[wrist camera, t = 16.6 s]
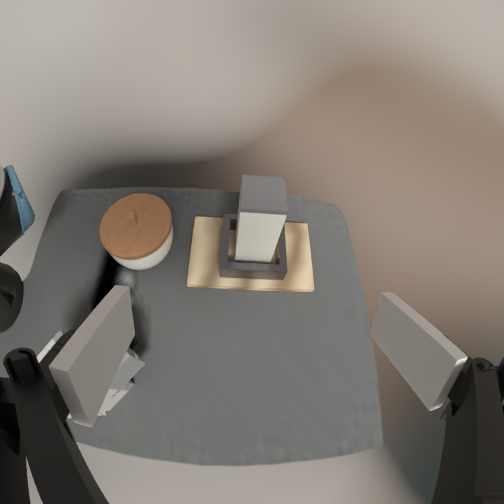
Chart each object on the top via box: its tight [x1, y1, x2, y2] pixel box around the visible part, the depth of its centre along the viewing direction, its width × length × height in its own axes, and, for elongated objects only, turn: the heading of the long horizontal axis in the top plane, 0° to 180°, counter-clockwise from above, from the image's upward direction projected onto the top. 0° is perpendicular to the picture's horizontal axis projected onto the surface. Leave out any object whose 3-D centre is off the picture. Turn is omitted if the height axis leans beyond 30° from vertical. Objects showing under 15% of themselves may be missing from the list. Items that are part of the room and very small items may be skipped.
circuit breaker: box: [37, 330, 145, 418], centre depth 31 cm, size 8×14×15 cm, turn 142°
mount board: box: [187, 217, 314, 292], centre depth 50 cm, size 22×14×1 cm, turn 90°
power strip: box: [235, 175, 288, 264], centre depth 43 cm, size 6×6×16 cm
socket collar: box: [220, 213, 288, 280], centre depth 48 cm, size 11×11×4 cm
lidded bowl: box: [99, 193, 173, 270], centre depth 44 cm, size 13×13×11 cm
